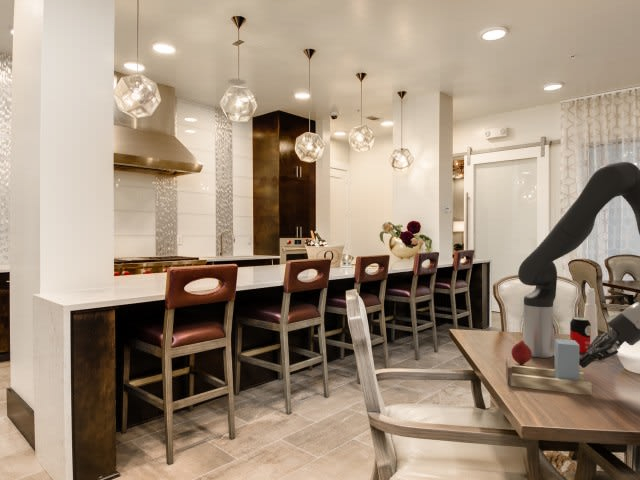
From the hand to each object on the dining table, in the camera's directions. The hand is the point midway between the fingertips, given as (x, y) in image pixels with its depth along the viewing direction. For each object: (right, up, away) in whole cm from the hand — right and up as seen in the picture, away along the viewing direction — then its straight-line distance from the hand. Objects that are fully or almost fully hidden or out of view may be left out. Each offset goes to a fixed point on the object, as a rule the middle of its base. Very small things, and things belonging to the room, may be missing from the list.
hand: (579, 364), depth 119 cm
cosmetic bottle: (+31, -7, +46) cm, 56 cm away
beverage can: (+23, -7, +39) cm, 46 cm away
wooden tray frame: (-8, -6, +3) cm, 10 cm away
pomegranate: (-6, -6, +21) cm, 23 cm away
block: (-3, -5, +1) cm, 6 cm away
